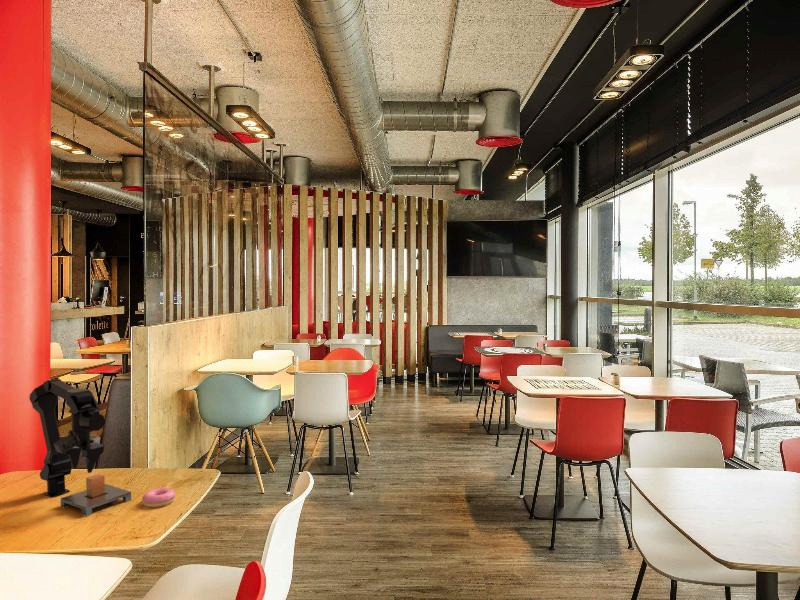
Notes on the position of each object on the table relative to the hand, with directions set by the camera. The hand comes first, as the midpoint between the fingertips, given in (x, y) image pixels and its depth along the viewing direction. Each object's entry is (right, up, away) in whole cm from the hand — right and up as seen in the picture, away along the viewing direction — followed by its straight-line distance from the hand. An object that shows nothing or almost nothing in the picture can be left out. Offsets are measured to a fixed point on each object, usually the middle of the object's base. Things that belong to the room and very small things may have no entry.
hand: (82, 470), depth 199 cm
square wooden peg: (+5, -12, 0) cm, 13 cm away
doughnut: (+27, -12, -1) cm, 30 cm away
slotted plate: (+5, -12, 0) cm, 13 cm away
